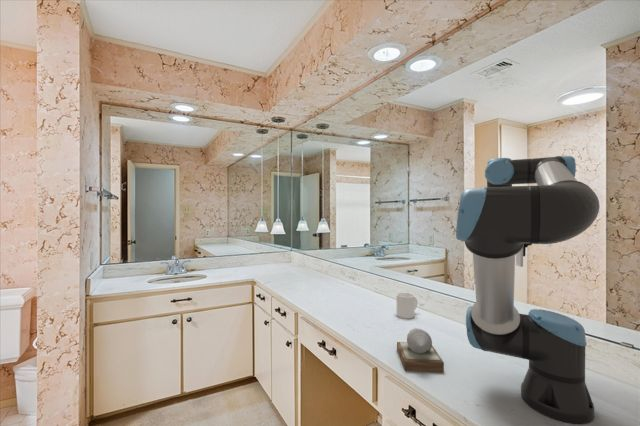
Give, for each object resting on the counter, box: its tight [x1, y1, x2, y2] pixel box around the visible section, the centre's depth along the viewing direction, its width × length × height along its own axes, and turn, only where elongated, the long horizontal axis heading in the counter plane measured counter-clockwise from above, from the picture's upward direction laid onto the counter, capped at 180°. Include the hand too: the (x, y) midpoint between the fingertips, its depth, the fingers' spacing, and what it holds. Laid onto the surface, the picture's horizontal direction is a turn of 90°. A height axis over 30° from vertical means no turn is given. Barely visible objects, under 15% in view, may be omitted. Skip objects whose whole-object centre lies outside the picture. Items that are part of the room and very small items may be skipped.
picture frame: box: [396, 341, 445, 373], centre depth 102 cm, size 14×12×3 cm
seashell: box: [406, 327, 433, 354], centre depth 104 cm, size 9×11×15 cm
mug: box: [396, 291, 418, 320], centre depth 146 cm, size 12×8×10 cm
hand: (498, 265), depth 104 cm, fingers open, 13 cm apart
